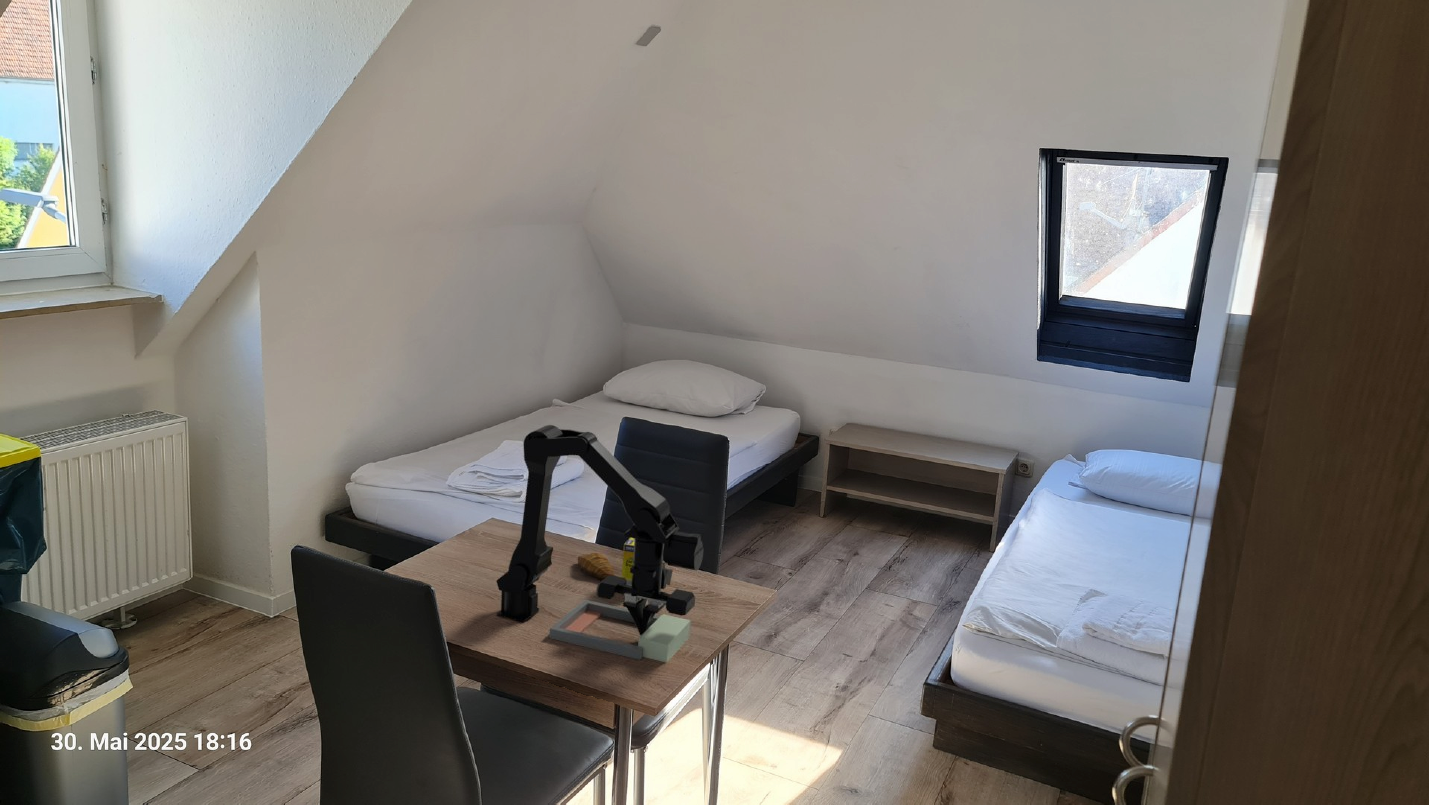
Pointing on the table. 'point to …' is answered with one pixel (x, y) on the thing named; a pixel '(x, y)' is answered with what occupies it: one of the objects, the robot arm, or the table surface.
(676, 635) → the block
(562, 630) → the channel
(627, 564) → the supplement box
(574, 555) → the table surface
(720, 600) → the table surface
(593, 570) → the croissant
